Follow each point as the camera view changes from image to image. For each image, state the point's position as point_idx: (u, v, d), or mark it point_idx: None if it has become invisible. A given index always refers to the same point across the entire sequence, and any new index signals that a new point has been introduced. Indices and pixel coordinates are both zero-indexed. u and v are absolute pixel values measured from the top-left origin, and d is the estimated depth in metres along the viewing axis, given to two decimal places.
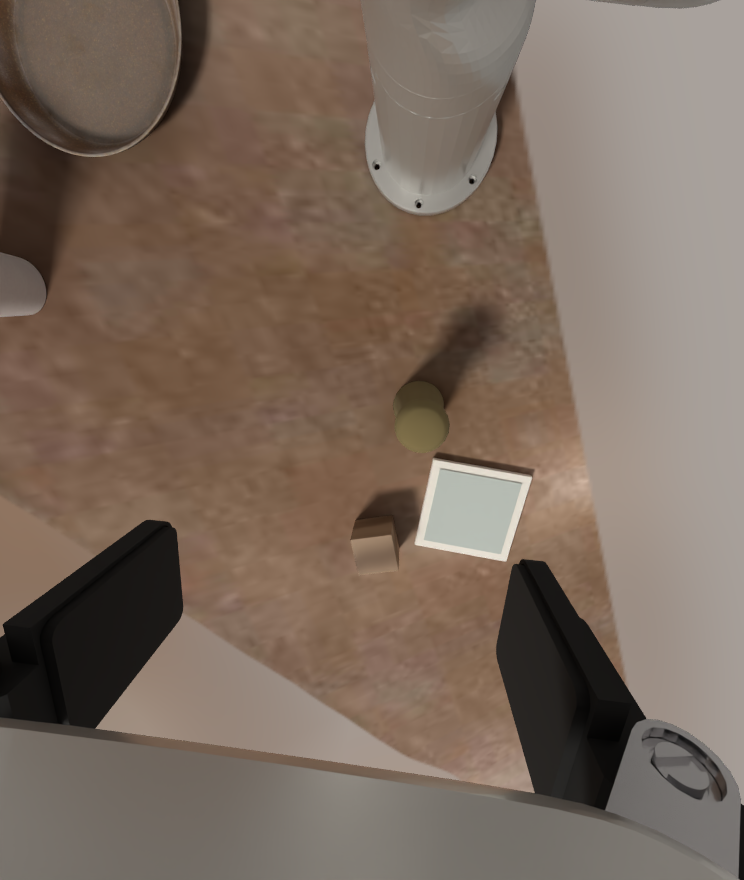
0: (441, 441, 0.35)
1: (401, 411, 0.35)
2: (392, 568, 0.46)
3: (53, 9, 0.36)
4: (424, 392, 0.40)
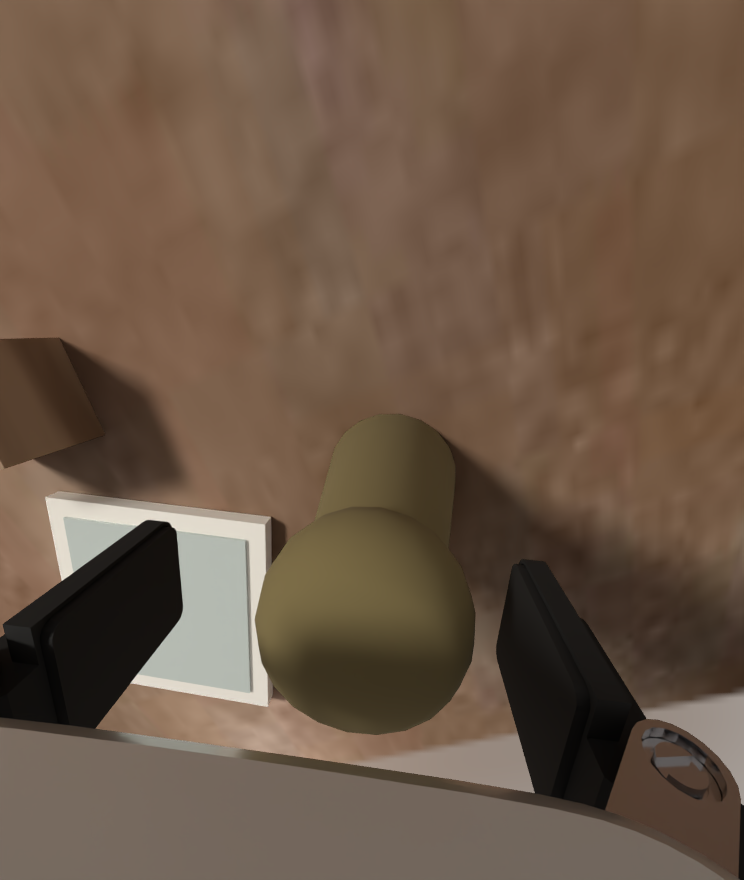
0: None
1: (423, 559, 0.08)
2: None
3: None
4: (450, 527, 0.14)
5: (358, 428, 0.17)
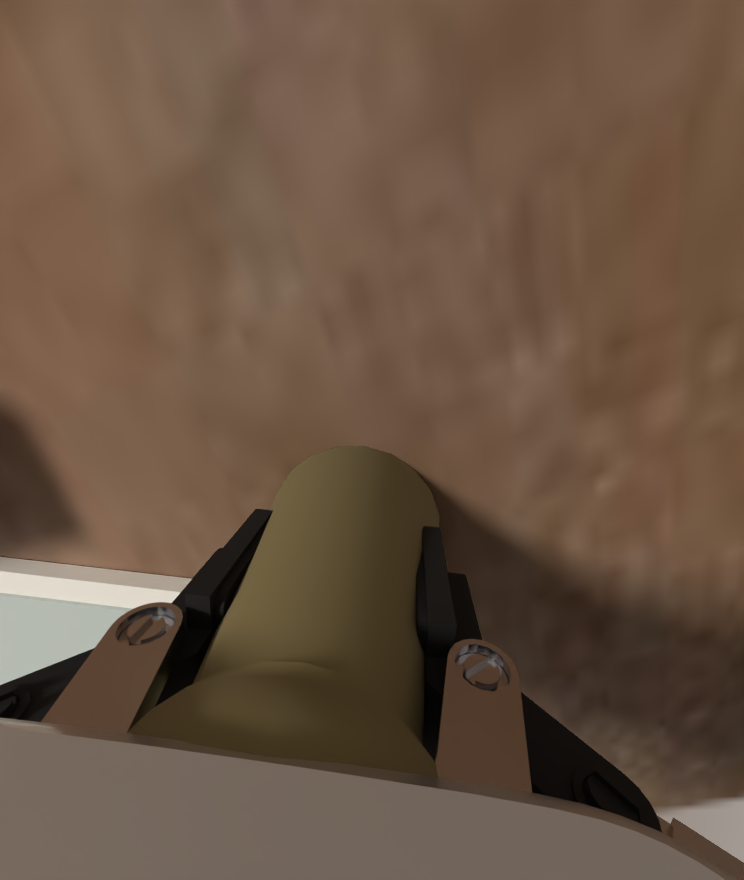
0: None
1: None
2: None
3: None
4: None
5: (305, 468, 0.12)
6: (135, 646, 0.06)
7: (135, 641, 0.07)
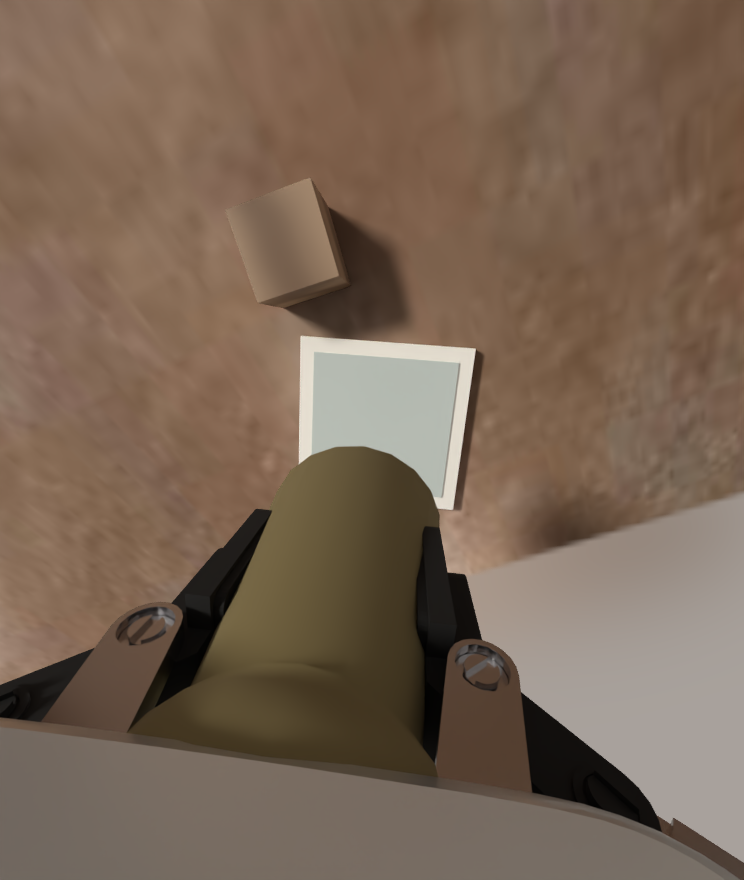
0: None
1: None
2: (260, 288, 0.22)
3: None
4: None
5: (305, 468, 0.12)
6: (135, 646, 0.06)
7: (135, 641, 0.07)
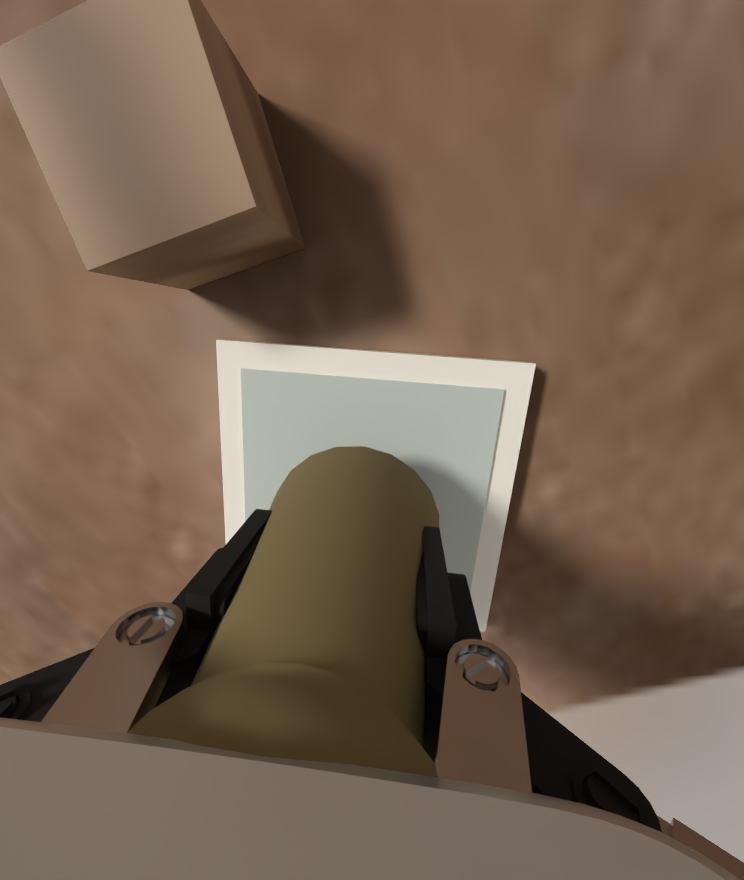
0: None
1: None
2: (89, 239, 0.10)
3: None
4: None
5: (305, 468, 0.12)
6: (135, 646, 0.06)
7: (135, 641, 0.07)
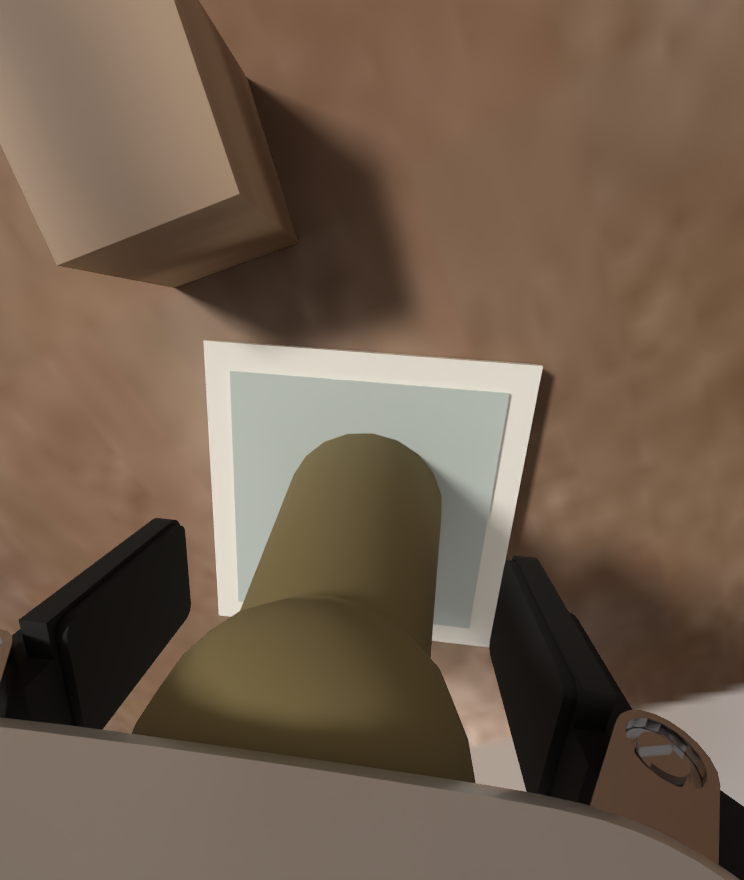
0: None
1: (387, 719, 0.05)
2: (58, 230, 0.09)
3: None
4: (435, 586, 0.10)
5: (320, 452, 0.13)
6: None
7: None
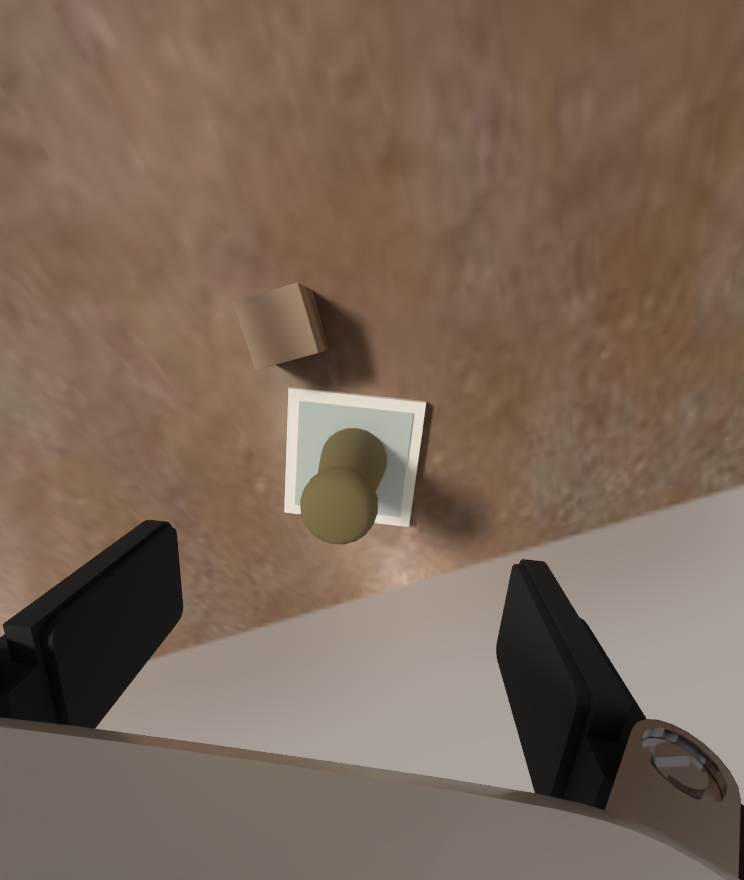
0: (321, 539, 0.25)
1: (358, 480, 0.24)
2: (257, 359, 0.28)
3: None
4: (378, 481, 0.30)
5: (336, 435, 0.33)
6: None
7: None
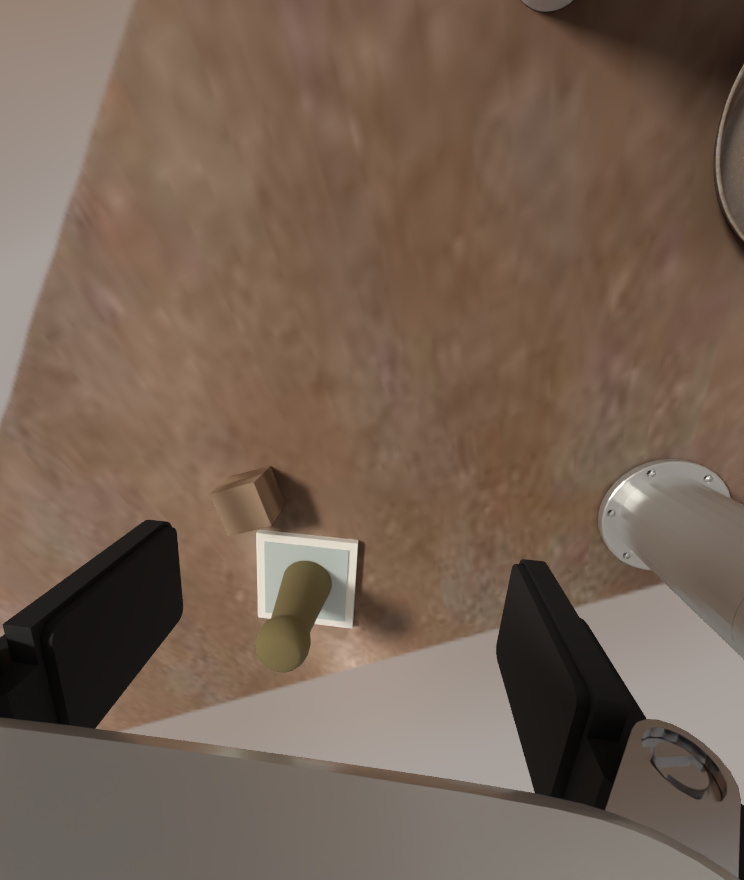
0: (270, 669, 0.36)
1: (293, 631, 0.35)
2: (229, 529, 0.40)
3: None
4: (319, 610, 0.41)
5: (291, 568, 0.44)
6: None
7: None
